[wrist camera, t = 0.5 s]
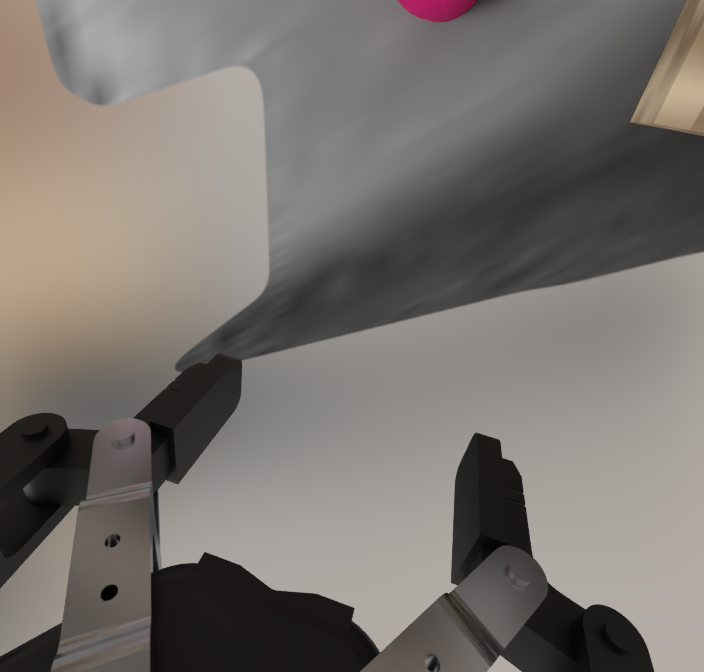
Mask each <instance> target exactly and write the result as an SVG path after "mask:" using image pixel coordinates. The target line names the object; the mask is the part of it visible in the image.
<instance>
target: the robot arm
mask: <svg viewBox="0 0 704 672" xmlns="http://www.w3.org/2000/svg"><path fill="white" fill-rule="evenodd" d="M241 377H242V361H241V360H240V359H238V358H234V357H231V356H228V355H225V354H221V353H219V354H217V355H216V356H215V357H214V358H213V359H212V360H211V361H210V362H209V363H208V364H207V365H206V364H203V363H198V364H196V365H194V366H192V367H190V368H188V369H185V370H184V371H183V372H182V373H181V374H180V375H179V376H178V377H177V378H176V379H175V381H173V382H172V383H171V384H169V385H168V386H167V388H166V389H164V390H163V391H162V392H161V393H160V394H159V395H158V396H156V398H155V399H153V400H152V401H151V402H150V403H149V404H148V405H147V406H146V407H145V408H144V409H143V410H141V411H140V412H139V413H138V414H137V415H136V416H135V417H134V418H133V419H132V418H129V419H128V418H127V419H120V420H116V421H114V422H111V423H109V424H107V425H105V426H104V427H103V428H101V429H100V430H85V429H68V427H67V423H66V421H65V419H64V418H63V417H62V416H60V415H57V414H53V413H39V414H34V415H30V416H27V417H25V418H22V419H20V420H18V421H16V422H15V423H13V424H12V425H11V426H9V427H8V428H7V429H5V430H4V431H3V432H1V433H0V588H1V587H2V586H3V585H4V584H5V583H6V581H7V580H8V579H9V578H10V577H11V576H12V575H13V574H14V572H15V571H16V570H17V569H18V568H19V567H20V566H21V565H22V564H23V562H24V561H25V560H26V559H27V558H28V557H29V556H30V555H31V554H32V552H33V551H34V550H35V549H36V548H37V547H38V546H39V545H40V544H41V542H42V541H43V540H44V539H45V538H46V537H47V536H48V535H49V533H51V531H52V530H53V529H54V528H55V527H56V526H57V525H58V524H59V522H60V521H61V520H62V519H63V518H64V517H65V516H66V515H67V514H68V513H69V511H70V510H71V509H72V508H73V507H74V506H75V505H76V506H79V508H78V514H77V522H76V529H75V536H74V542H73V550H72V557H71V564H70V571H69V578H68V585H67V592H66V599H65V607H64V613H63V620H62V623H60V624H59V625H57V626H55V627H53V628H51V629H49V630H48V631H46V632H44V633H42V634H40V635H39V636H37V637H35V638H33V639H31V640H29V641H28V642H26V643H24V644H22V645H20V646H19V647H17V648H15V649H13V650H11V651H9V652H8V653H6V654H4V655H2V656H0V672H487V671H488V670H489V668H490V667H491V666H492V665H493V663H494V662H495V661H496V660H497V658H498V657H499V655H501V656H502V657H504V658H505V659H506V660H508V661H509V662H510V663H511V664H513V665H514V666H515V667H517V668H518V669H519V670H520V671H522V672H654V669H653V666H652V662H651V658H650V655H649V652H648V649H647V646H646V644H645V642H644V640H643V638H642V636H641V635H640V633H639V632H638V631H637V629H636V628H635V627H634V626H633V624H632V623H631V622H630V621H629V620H628V619H627V618H625V617H624V616H623V615H622V614H620V613H619V612H617V611H616V610H614V609H612V608H610V607H607V606H604V605H592V606H590V607H588V608H587V609H586V610H585V609H584V608H582V607H581V606H579V605H578V604H576V603H575V602H573V601H572V600H570V599H569V598H567V597H566V596H564V595H563V594H561V593H560V592H559V591H557V590H556V589H555V588H553V587H552V586H551V585H550V584H549V583H548V582H547V579H546V576H545V574H544V572H543V570H542V568H541V566H540V565H539V564H538V562H537V561H536V560H535V559H534V558H533V556H532V550H531V542H530V535H529V528H528V522H527V514H526V507H525V500H524V495H523V484H522V477H521V475H520V473H519V471H518V470H517V468H516V466H515V464H514V463H513V461H510V460H507V459H503V458H502V453H501V443H500V441H499V440H498V439H495V438H492V437H488V436H485V435H482V434H479V433H475V434H474V435H473V437H472V439H471V441H470V443H469V445H468V448H467V450H466V452H465V454H464V456H463V458H462V460H461V462H460V465H459V467H458V470H457V474H456V479H455V495H454V498H455V499H454V520H453V545H452V546H453V547H452V570H451V583H453V584H456V585H458V586H457V587H456V588H455V589H454V590H453V591H452V592H450V593H449V594H448V593H445V594H443V595H442V596H441V597H439V598H438V599H437V600H436V601H435V602H434V603H433V604H432V605H431V606H430V607H429V608H428V609H426V610H425V611H424V612H423V613H422V614H421V615H420V616H419V617H418V618H417V619H416V620H415V621H414V622H413V623H411V624H410V625H409V626H408V627H407V628H406V629H405V630H404V631H403V632H402V633H401V634H400V635H399V636H398V637H397V638H396V639H394V641H392V642H391V643H390V644H389V645H388V646H387V647H386V648H385V649H384V650H383V651H382V652H379V650H378V648H377V647H376V645H375V644H374V642H373V641H372V640H371V639H370V638H369V636H368V635H367V634H366V633H365V632H364V631H363V630H362V629H361V628H360V627H359V626H358V625H357V624H355V623H354V622H353V621H352V617H353V612H354V608H353V607H350V606H347V605H345V604H342V603H339V602H337V601H334V600H331V599H329V598H326V597H323V596H321V595H318V594H312V593H299V592H287V591H276V590H273V589H271V588H269V587H268V586H267V585H265V584H264V583H263V582H261V581H260V580H259V579H258V578H256V577H255V576H254V575H252V574H251V573H250V572H248V571H247V570H246V569H244V568H243V567H242V566H240V565H238V564H235V563H233V562H230V561H227V560H224V559H222V558H219V557H217V556H214V555H211V554H209V553H206V552H204V554H203V556H202V557H201V559H200V561H199V563H188V564H179V565H174V566H170V567H167V568H163V569H162V565H161V552H160V525H159V493H158V489H159V488H160V486H161V485H162V484H163V483H164V482H165V480H167V481H170V482H173V483H176V484H179V482H180V481H181V480H182V478H183V477H184V476H185V474H186V473H187V472H188V470H189V469H190V468H191V467H192V465H193V464H194V463H195V462H196V460H197V459H198V457H199V456H200V455H201V454H202V452H203V451H204V450H205V449H206V447H207V446H208V445H209V443H210V442H211V441H212V439H213V438H214V437H215V436H216V434H217V433H218V432H219V430H220V429H221V428H222V426H223V425H224V424H225V423H226V421H227V420H228V419H229V417H230V416H231V415H232V413H233V412H234V411H235V409H236V407H237V405H238V403H239V400H240V396H241Z"/></svg>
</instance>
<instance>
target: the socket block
mask: <svg viewBox="0 0 704 672" xmlns="http://www.w3.org/2000/svg"><path fill="white" fill-rule="evenodd" d="M630 122H632V123H637V124H643V125H648V126H653V127H658V128H664V129H669V130H674V131H680V132H685V133H690V134H695V135H701V136H704V0H687V1H686V3H685V5H684V8H683V10H682V12H681V14H680V16H679V18H678V20H677V23H676V25H675V27H674V29H673V31H672V33H671V35H670V38H669V40H668V42H667V44H666V46H665V48H664V50H663V53H662V55H661V57H660V59H659V61H658V63H657V65H656V68H655V70H654V72H653V74H652V76H651V78H650V80H649V83H648V85H647V87H646V89H645V91H644V93H643V95H642V98H641V100H640V102H639V104H638V106H637V108H636V110H635V113H634V115H633V117H632V119H631V121H630Z"/></svg>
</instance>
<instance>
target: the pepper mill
mask: <svg viewBox="0 0 704 672" xmlns="http://www.w3.org/2000/svg"><path fill="white" fill-rule="evenodd" d="M398 1H399V3H400V4H401V5H402V6H403V7H404V8H405V9H406V10H407V11H408V12H410V13H411V14H413V15H415V16H417V17H419V18H422V19H426V20H429V21H433V22H446V21H449V20H452V19H455V18H457V17H459V16H460V15H462V14H463V13H465V12H466V11H467V10H468V9H469V8H471V7H472V5H473V4H474V3H475V2H476V1H477V0H398Z"/></svg>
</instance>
